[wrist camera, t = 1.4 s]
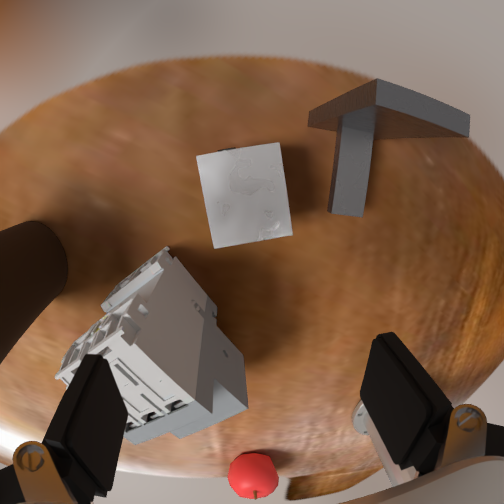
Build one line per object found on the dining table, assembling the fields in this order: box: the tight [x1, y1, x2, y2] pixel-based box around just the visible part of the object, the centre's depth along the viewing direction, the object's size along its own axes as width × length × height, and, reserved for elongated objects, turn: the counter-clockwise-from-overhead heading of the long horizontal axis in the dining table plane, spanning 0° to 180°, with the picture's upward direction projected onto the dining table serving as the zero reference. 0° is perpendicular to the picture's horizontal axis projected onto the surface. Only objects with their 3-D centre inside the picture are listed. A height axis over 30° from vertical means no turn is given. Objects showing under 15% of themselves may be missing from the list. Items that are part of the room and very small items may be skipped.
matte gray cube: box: [196, 142, 293, 249], centre depth 25 cm, size 7×6×6 cm
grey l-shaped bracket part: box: [308, 79, 470, 217], centre depth 21 cm, size 7×9×14 cm
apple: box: [228, 453, 279, 499], centre depth 37 cm, size 8×8×8 cm
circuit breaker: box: [55, 246, 248, 445], centre depth 24 cm, size 8×14×15 cm, turn 34°
